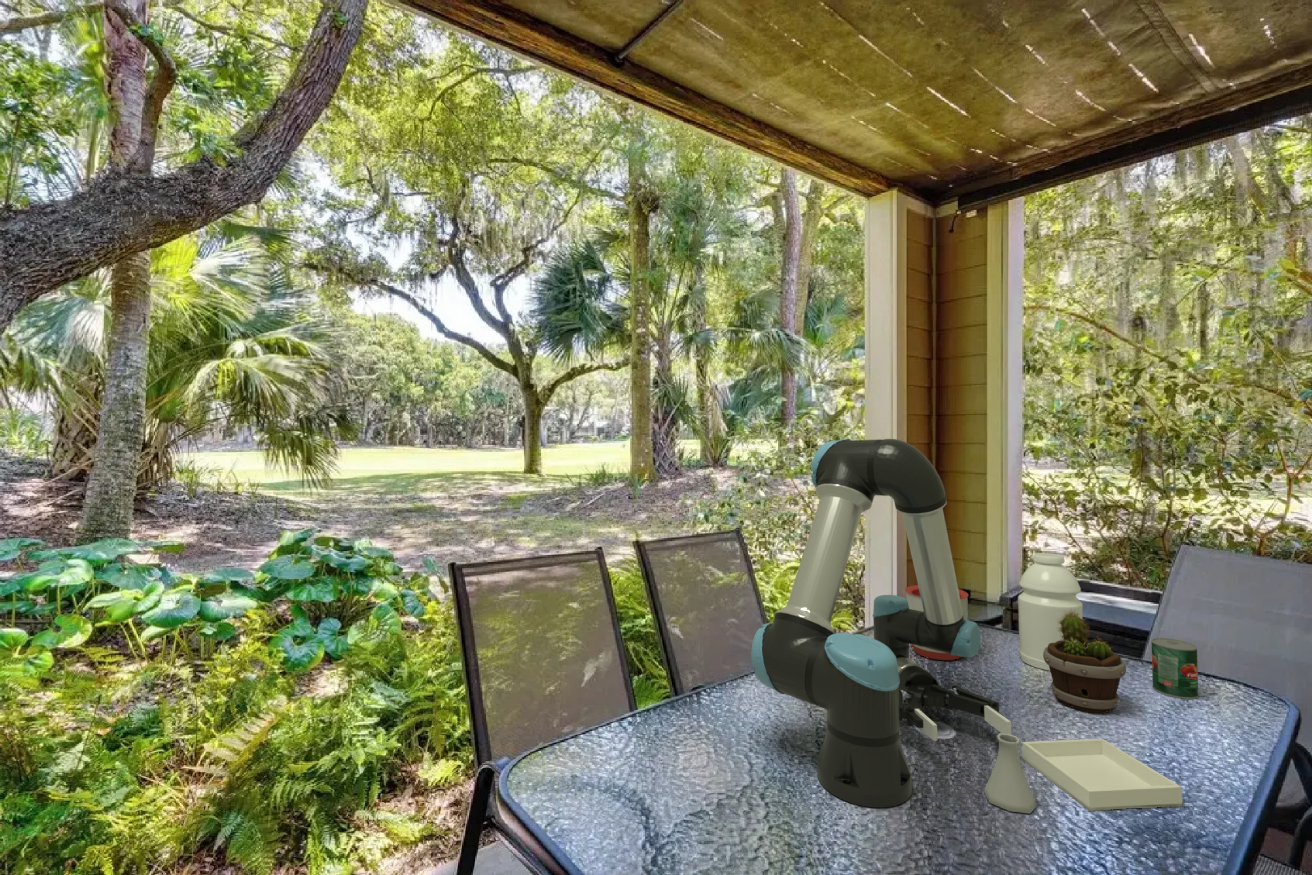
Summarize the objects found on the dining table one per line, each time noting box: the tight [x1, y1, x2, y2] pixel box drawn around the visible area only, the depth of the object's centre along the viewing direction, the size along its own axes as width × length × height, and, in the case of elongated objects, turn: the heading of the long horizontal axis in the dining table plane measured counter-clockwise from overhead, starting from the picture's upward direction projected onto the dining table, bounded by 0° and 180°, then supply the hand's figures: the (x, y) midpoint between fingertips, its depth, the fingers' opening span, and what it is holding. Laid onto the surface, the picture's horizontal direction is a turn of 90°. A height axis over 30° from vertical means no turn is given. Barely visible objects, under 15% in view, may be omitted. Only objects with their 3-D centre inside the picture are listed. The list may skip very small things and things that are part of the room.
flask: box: [983, 732, 1037, 814], centre depth 93 cm, size 7×7×10 cm
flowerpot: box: [1043, 607, 1127, 714], centre depth 128 cm, size 14×15×20 cm
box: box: [1021, 738, 1183, 812], centre depth 98 cm, size 15×15×3 cm
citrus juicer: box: [904, 584, 969, 661], centre depth 160 cm, size 16×17×20 cm
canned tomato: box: [1150, 637, 1199, 700], centre depth 133 cm, size 8×8×11 cm
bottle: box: [1017, 552, 1084, 671], centre depth 151 cm, size 14×14×28 cm
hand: (972, 731), depth 103 cm, fingers open, 13 cm apart
